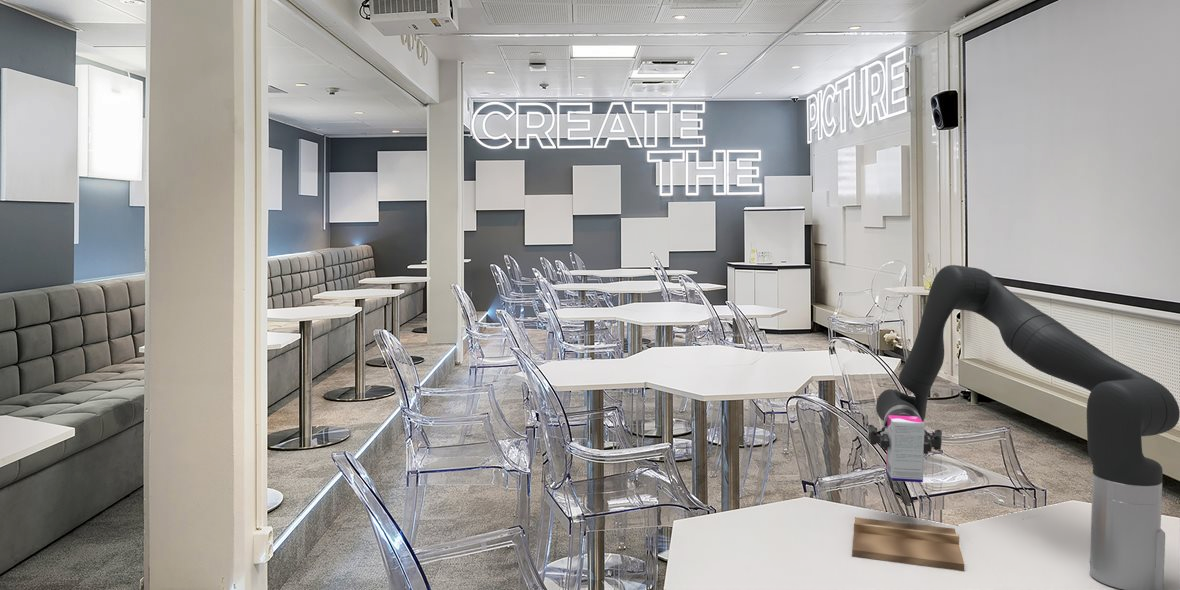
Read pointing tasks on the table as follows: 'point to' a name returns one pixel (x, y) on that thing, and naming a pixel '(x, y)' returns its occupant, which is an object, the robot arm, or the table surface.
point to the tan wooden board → (907, 543)
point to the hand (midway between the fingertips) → (905, 447)
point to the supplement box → (905, 448)
